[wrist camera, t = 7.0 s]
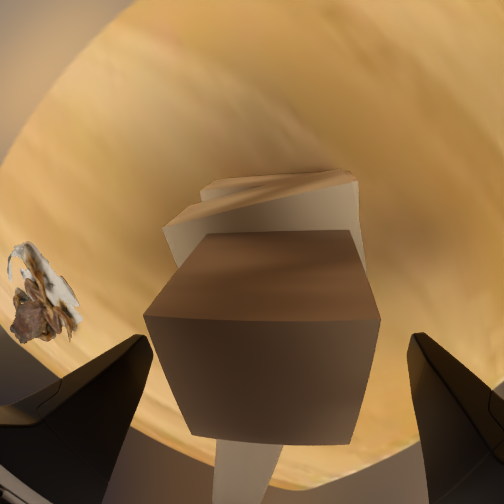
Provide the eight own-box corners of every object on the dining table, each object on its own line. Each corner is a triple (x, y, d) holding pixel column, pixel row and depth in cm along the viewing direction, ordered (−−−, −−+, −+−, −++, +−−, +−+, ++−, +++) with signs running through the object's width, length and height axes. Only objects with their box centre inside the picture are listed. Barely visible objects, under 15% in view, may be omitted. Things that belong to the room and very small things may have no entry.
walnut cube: (349, 229, 10) (381, 319, 5) (341, 342, 12) (349, 444, 7) (206, 233, 11) (142, 314, 6) (225, 340, 13) (192, 435, 8)
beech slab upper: (340, 168, 12) (352, 182, 9) (363, 305, 14) (372, 344, 12) (189, 205, 14) (161, 228, 11) (234, 325, 16) (221, 364, 14)
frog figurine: (70, 361, 27) (53, 384, 24) (2, 283, 24) (-19, 300, 21) (112, 324, 22) (88, 353, 19) (24, 220, 20) (-7, 237, 16)
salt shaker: (214, 402, 24) (170, 532, 12) (277, 400, 22) (251, 548, 11) (235, 435, 26) (205, 547, 14) (291, 434, 24) (273, 556, 13)
